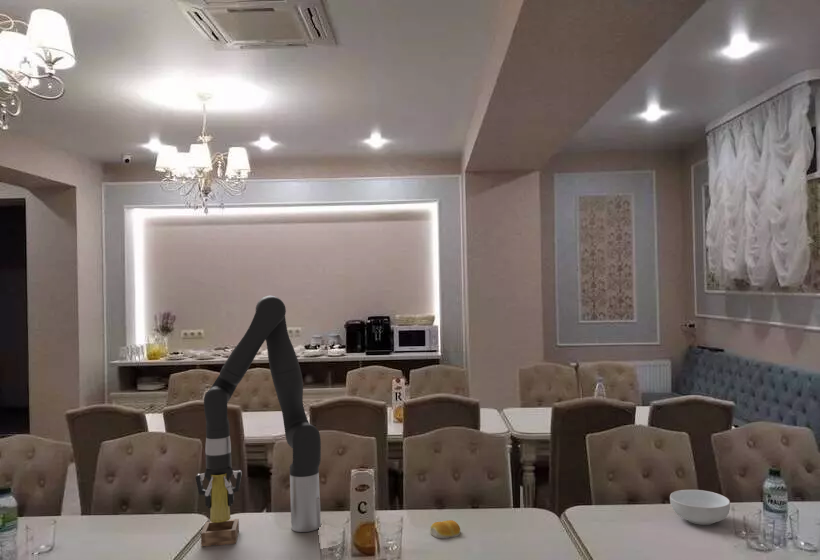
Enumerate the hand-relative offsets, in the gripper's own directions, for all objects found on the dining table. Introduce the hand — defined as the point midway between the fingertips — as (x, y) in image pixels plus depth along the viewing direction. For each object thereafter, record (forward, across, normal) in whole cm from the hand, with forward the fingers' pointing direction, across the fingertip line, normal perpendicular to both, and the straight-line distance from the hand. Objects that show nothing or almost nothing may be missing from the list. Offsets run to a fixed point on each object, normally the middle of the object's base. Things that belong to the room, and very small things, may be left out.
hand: (219, 506), depth 196 cm
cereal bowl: (+10, -146, +25) cm, 149 cm away
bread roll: (+10, -68, +14) cm, 70 cm away
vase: (+4, 0, 0) cm, 4 cm away
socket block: (+10, 0, 0) cm, 10 cm away
